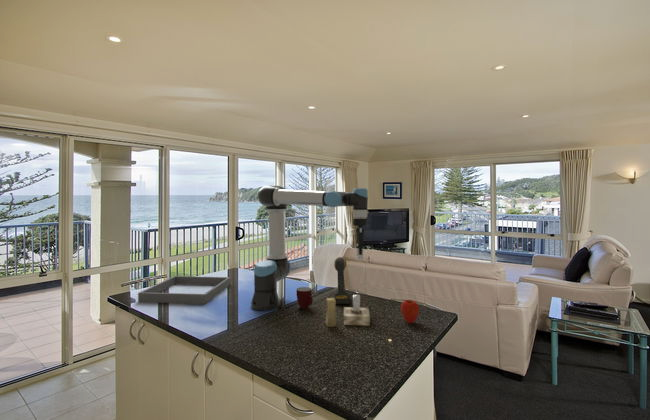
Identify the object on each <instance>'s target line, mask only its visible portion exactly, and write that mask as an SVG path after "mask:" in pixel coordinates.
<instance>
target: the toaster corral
mask: <svg viewBox="0 0 650 420" xmlns="http://www.w3.org/2000/svg"><path fill="white" fill-rule="evenodd" d="M175 285H195V286H196V285H202V286H213V287H212V288H211V289H208V290H207V291H206V292H205V293H184V292H183V293H179V292H178V293H177V292H175V293H174V292H163V291H165V290H168V289H169V288H171V287H173V286H175ZM229 285H230V286H231V277H230V276H197V275H196V276H193V275H191V276H190V275H187V276H185V275H184V276H183V275H174V276H172V277H170V278H168V279H165V280H163V281H161V282H158V283H157V284H156V283H155V285H152V286H150V287H148V288H146V289H143V290H141V291H139V292H138V293H137V301H138V303H156V304H157V303H159V304H163V303H166V304H188V305H189V304H190V305H191V304H193V305H195V304H196V305H197V304H198V305H206V304H208V303H209V302H210V301H212V300H213V299H215V297H217V296H218V295H219V294H220V293H222V292H223V291H224V290H226V289H227V288H229ZM225 288H226V289H225ZM221 291H222V292H221ZM216 295H217V296H216Z"/></svg>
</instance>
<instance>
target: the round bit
mask: <svg viewBox="0 0 650 420" xmlns="http://www.w3.org/2000/svg"><path fill="white" fill-rule="evenodd" d="M352 307H353V313H354V314H360V308H361V295H360V294H357V293H356V294H352Z"/></svg>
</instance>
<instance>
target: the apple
mask: <svg viewBox="0 0 650 420" xmlns="http://www.w3.org/2000/svg"><path fill="white" fill-rule="evenodd" d="M400 313H401V315H402V317H403V318H404V320H405V322H406V323H408V324H413V323H414V322H415V321H416V320H417V318H418V316H419V314H420V307H419V305H418V303H417V301H415V300H411V299H405V300H404V301H403V302H402V303H401V306H400Z"/></svg>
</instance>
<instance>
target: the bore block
mask: <svg viewBox="0 0 650 420" xmlns="http://www.w3.org/2000/svg"><path fill="white" fill-rule="evenodd" d="M343 326H371V316H370V310H369V307H360V314H354V313H353V306H352V307H351V306H350V307H349V306H344V307H343Z"/></svg>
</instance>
